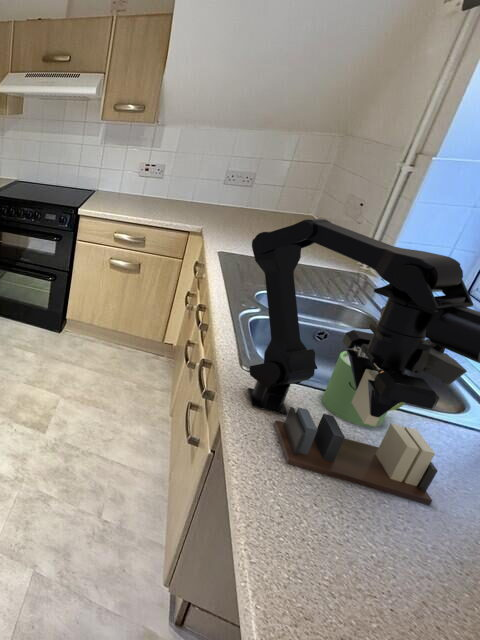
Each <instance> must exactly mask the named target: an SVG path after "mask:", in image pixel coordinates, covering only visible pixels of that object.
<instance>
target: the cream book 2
mask: <svg viewBox="0 0 480 640" xmlns="http://www.w3.org/2000/svg"><path fill="white" fill-rule="evenodd" d="M404 428H405V427H404V426H403V425H400V424H397V423H394V422H393V423H392V422H390V424H389V426H388V428H387V430H386V432H385V434H384V436H383V437H382V440H381V442H380V444H379V446H378V447H379V448H378V450H377V452H376V456H377V458H378V459H379V461H380V462H381V464H382V466H383V467H384V469H385V471H386V472H387V474H388V476H389V477H390V479H393V480H397V481H400V482H402V481H403V479H404V477H405V475H406V473H407V471H408V470H409V468H410V466H411V464H412V462H413V460H414V459H415V457H416V455H417V453H418V451H419V448H418V447H417V445H416V444H415V443H414V441H413V440H412V439H411V437H410V436H409V435H408V433H407V432H406V431H405V429H404Z"/></svg>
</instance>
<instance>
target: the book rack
mask: <svg viewBox="0 0 480 640" xmlns="http://www.w3.org/2000/svg"><path fill="white" fill-rule="evenodd" d="M296 412H297V411H296V410H295V407H293V406H290V407H289V409H288V411H287V415H286V417H285V420H284V421H281V420H278V419H275V420H274V423H273V426H274V429H275V432H276V434H277V437H278V440H279V444H280V447H281V450H282V452H283V455H284V459H285V460H286V464H288V465H291V466H294V467H298V468H301V469H305V470H308V471H311V472H314V473H318V474H321V475H325V476H329V477H331V478H335V479H339V480H342V481H344V482H345V481H346V482H349V483H352V484H356V485H359V486H363V487H365V488H369V489H371V490H375V491H379V492H383V493H386V494H390V495H392V496H395V497H396V496H397V497H400V498H403V499H406V500H410V501H413V502H417V503H420V504H423V505H427V506H431V504H432V502H433V499H432V498H431V496H430V495H429V493H428V492H427V491H428V489H429V487H430V486H431V484H432V482H433V480H434V478H435V477H436V475H437V473H438V471H439V470H438V469H437V468H436V466H435V465H434V464H433V462H432V461H431V462H430V464H429V466H428V467H427V469H426V471H425V473H424V474H423V476H422V478H421V480H420V482H419V483H418V485H417V486H414V485H411V484H407V483H405V482H404V480H403V481H402V482H400V481H397V480H393V479H390V477H389V476H388V474H387V472H386V471H385V469H384V467H383V466H382V464H381V462H380V461H379V459H378V458H377V456H376V452H377V450H378V448H379V446H375V445H372V444H368V443H364V442H360V441H356V440H352V439H349V438H345V439H344V441H343V443H342V445H341V448H340V450H339V452H338V454H337V457H336V459H335V461H334V463H333V462H330V461H326V460H323V458H322V456H321V453H320V451H319V449H318V447H317V444H316V442H315V440H313V442H312V445H311V447H310V450H309V452H308V454H307V455H305V454H302V453H298V452H299V450H300V447H301V445H302V442H303V440H304V437H305V433H304V430H303V428H302V426H301V423H300V421H299V419H298V416H297V414H296Z"/></svg>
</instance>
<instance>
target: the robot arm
mask: <svg viewBox="0 0 480 640" xmlns="http://www.w3.org/2000/svg"><path fill="white" fill-rule="evenodd" d="M314 244H317V245H319V246H321V247H324V248H325V249H328V250H330V251H332V252H335V253H337V254H339V255H342V256H344V257H346V258H349V259H351V260H353V261H356V262H358V263H360V264H362V265H365V266H367V267H369V268H370V269H372V270H374V271H375V272H376V273H377V275H378V276H379V277H380V278H381V279H382V280H383V281H385V282H386V283H388V284H386V285H384V286H381V287H375V288H374V289H373V292H374V293H375V294H378V295H380V296H383V297H385V298H387V301H386V303H385V305H384V307H383V310H382V312H381V315H380V317H379V319H378V321H377V323H374V322H373V323H371V322H370V325H369V330H370V332H366V331H361V330H355V329H352V330H349V331H347V332H345V334H344V336H343V339H342V343H343V345H344V346H345V347H346V348H348V349H347V350H346V351H347V353H348V355H349V360H350V364H351V368H352V373H353V378H354V383H355V388H356V391H357V388H358V386H359V384H360V381H361V379H362V377H363V374H364V372H365V370H366V369H369V370H374V371H377V372H378V373H379V374H377V375H376V377H375V381H373V380H368V390H369V407H370V414H371V416H374V417H380V416H382V415H383V414H384V413H386V412H387V411H388V412H390V411H389V410H390V409H391V408H393V407H394V406H396V405H397V404H399V403H400V402H403V403H405V404H407V405H413V406H416V407H421V408H424V409H429V410H434V409H435V408H436V407H437V405H438V403H439V401H440V399H441V398H440V395H438V394H437V393H436V391H435V390H434V389H433V388H432V387H431V386H430V385H429V383H428V382H426V380H425V379H424V378H422V377H417V376H412V375H408V373H406V371H408V372H410V373H412V374H417V375H422V373H423V372H424V373H426V374H428V375H431V376H432V377H435V378H437V379H439V380H441V381H442V383H444V384H446V385H452V384H453V383H454V382H455V381H457V380H458V379H459V378H461V377H462V376H464V375H465V374H466V373H467V372H468V370H467V369H466V368H465V367H463V366H462V365H461V363H459V362H458V361H457V360H456V359H455V358H454V357H452V356H450V355H449V354H448V353H446V352H445V350H448V351H450V352H453V353H455V354H457V355H459V356H462V357H464V358H466V359H468V360H471V361H473V362H476V363H478V364H480V311H479V310H475V309H473V308H472V307H473V306H474V303H473V299H472V298H471V296H470V294H469V291H468V289H467V287H466V285H465V282H464V280H463V278H464V271H463V270H464V269H462V267H461V263H460V262H459V261H457V260H456V259H455V258H453V257H450V256H449V255H444V254H438V253H433V252H430V251H429V252H428V251H425V250H418V249H412V248H411V249H410V248H403V247H398V246H394V245H391V244H389V243H385V242H384V241H380V240H378V239H376V238H373V237H369V236H368V235H364V234H362V233H359V232H356V231H354V230H352V229H349V228H346V227H343V226H340V225H338V224H336V223H333V222H331V221H330V220H328V219H326V218H307V219H302V220H300V221H298V222H296V223H293V224H291V225H288V226H285V227H281V228H278V229H274V230H272V231H262V232H259V233H257V235H255V237H254V238H253V239H252V241H251V250H252V253H253V257H254V262H255V263H256V264H257V265H258V266H259V268H260V269H261V270H262V272H263V273H264V280H265V281H264V282H265V292H266V300H267V310H268V319H269V329H270V341H269V342H268V344H267V347H266V349H265V350H264V354H263V363H258V364H254V365H250V366H249V376H250V377H252V379H254V380H256V381H255V384H254V387H253V388H251V387H248V388H247V393H248V397H249V400H250V403H251V406H252V407H254V408H258V409H262V410H266V411H269V412H273V413H277V414H281V415H284V416H287V414H288V410H287V407H286V405H285V400H286V398H287V395H288V392H289V390H290V386H291V385H295V384H297V385H298V384H301V383H302V382H306V381H309V380H310V379H312V377H314V376H315V370H318V366H317V363H316V351H315V349H314V348H307V347H306V345H305V344H304V343H303V341H302V339H301V332H300V321H299V314H298V303H297V294H296V293H297V292H296V283H295V275H294V273H295V270H296V268H297V266H298V264H299V262H300V260H301V257H302V249H304V248H307V247H310V246H312V245H314ZM441 292H442V294H443V295H437V296H436V295H434V293H441ZM371 332H372V333H371ZM382 371H384V372H382ZM380 372H382V373H380ZM388 412H387V413H388Z"/></svg>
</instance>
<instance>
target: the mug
mask: <svg viewBox="0 0 480 640" xmlns="http://www.w3.org/2000/svg"><path fill="white" fill-rule="evenodd" d="M382 372H384V371H382ZM382 372H380V373H382ZM355 393H356V388H355V383H354V378H353V373H352V368H351V364H350V360H349V355H348V353H347V350H344V351H342V352H340V354H339V356H338V359H337V361H336V363H335V365H334V368H333V371H332V373H331V376H330V378H329V380H328V383H327V385H326V389H325V391H324V392H323V395H322V397H321V402H322V404H323V406H324V408H326V409H327V410H328V411H329V412H330V413H332V414H334V416H336V417H338V418H339V419H342V420H344V421H346V422H349V423H352V424H354V425H357V426H362V427H365V428H378V427H380V426H381V425H382V424H383V422H384V421H385V418H386V416H387V414H388V412H391V411H395V410H398V409H400V408H401V407H403V406H405V404H406V403H403V402H400V403H399V404H397V405H395V406H394V407H393V408H391V409H390V410H389V411H387V412H386V413H384V414H383V415H382V416H380V418H379V420H378V422H377V424H376V426H373V425H369V424H365V423H364V422H363V421H362V419H361V417H360V416H359V414H358V412H357V411H356V409H355V407H354V406H353V404H352V400H353V398H354V395H355Z"/></svg>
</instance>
